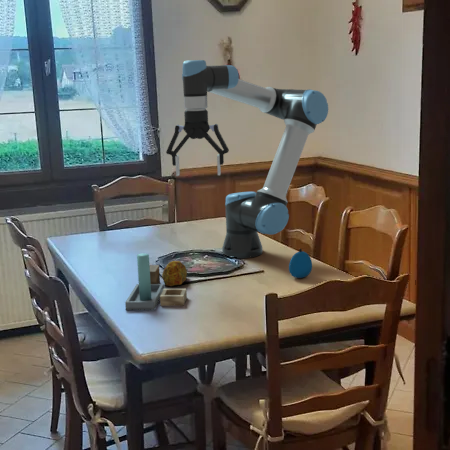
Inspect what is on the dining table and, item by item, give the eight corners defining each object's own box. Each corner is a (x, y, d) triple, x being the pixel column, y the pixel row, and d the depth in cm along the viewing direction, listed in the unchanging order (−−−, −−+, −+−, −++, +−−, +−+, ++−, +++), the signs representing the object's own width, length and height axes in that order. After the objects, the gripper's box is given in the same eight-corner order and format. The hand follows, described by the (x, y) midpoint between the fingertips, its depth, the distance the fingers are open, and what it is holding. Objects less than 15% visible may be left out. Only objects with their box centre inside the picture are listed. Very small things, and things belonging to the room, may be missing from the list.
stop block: (160, 282, 231) (159, 265, 229) (156, 289, 224) (155, 271, 222) (151, 282, 231) (150, 265, 229) (147, 289, 224) (146, 271, 223)
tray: (163, 291, 221) (163, 284, 221) (154, 310, 205) (153, 302, 205) (137, 291, 222) (136, 284, 222) (125, 310, 206) (125, 302, 205)
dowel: (152, 296, 215) (149, 253, 212) (150, 300, 212) (147, 256, 208) (140, 296, 215) (138, 253, 212) (138, 300, 212) (135, 256, 209)
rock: (160, 294, 231) (161, 268, 236) (185, 296, 233) (185, 269, 238) (165, 280, 222) (165, 252, 227) (191, 282, 223) (190, 254, 228)
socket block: (186, 297, 215) (186, 288, 214) (183, 305, 208) (183, 296, 208) (164, 297, 216) (163, 288, 215) (160, 305, 209) (160, 296, 208)
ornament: (308, 274, 234) (308, 245, 232) (314, 277, 230) (314, 248, 228) (286, 277, 232) (285, 248, 229) (292, 281, 227) (292, 252, 225)
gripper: (235, 107, 225) (237, 172, 230) (159, 109, 227) (162, 173, 232) (234, 109, 218) (235, 176, 223) (155, 111, 220) (158, 177, 225)
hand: (198, 175), depth 227 cm, fingers open, 13 cm apart
